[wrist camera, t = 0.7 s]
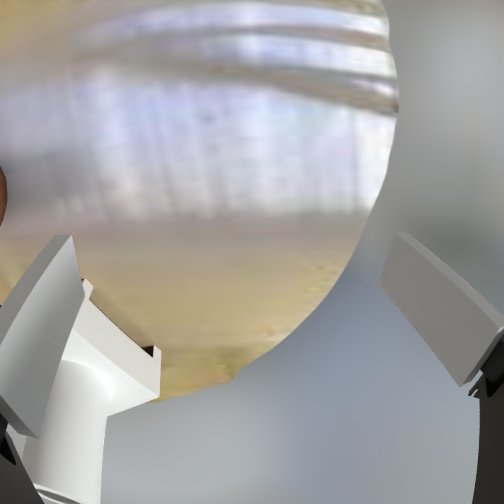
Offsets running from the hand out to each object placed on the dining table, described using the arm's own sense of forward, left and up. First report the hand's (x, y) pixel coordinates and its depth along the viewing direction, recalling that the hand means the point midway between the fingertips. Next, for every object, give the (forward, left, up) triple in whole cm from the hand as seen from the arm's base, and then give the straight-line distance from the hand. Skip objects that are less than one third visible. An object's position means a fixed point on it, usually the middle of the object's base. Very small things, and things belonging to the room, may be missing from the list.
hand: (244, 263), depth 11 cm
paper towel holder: (+29, -24, -27) cm, 47 cm away
